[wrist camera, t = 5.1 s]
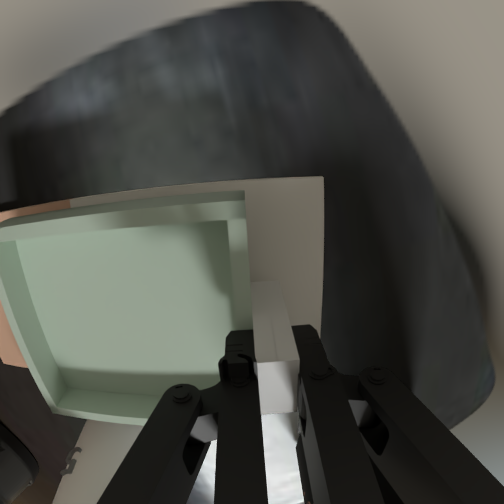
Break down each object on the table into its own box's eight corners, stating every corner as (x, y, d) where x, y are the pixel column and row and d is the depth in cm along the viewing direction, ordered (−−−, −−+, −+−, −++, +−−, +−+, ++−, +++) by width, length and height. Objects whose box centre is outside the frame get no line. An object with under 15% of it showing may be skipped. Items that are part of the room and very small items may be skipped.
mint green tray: (75, 373, 20) (52, 412, 16) (25, 211, 16) (-19, 231, 11) (256, 377, 20) (260, 426, 16) (244, 184, 16) (245, 200, 12)
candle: (114, 394, 21) (54, 562, 7) (172, 439, 23) (147, 596, 9) (75, 414, 22) (18, 549, 8) (127, 454, 24) (95, 585, 10)
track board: (6, 360, 20) (3, 363, 20) (-41, 221, 16) (-45, 223, 16) (316, 367, 20) (317, 372, 20) (321, 176, 16) (323, 177, 16)
